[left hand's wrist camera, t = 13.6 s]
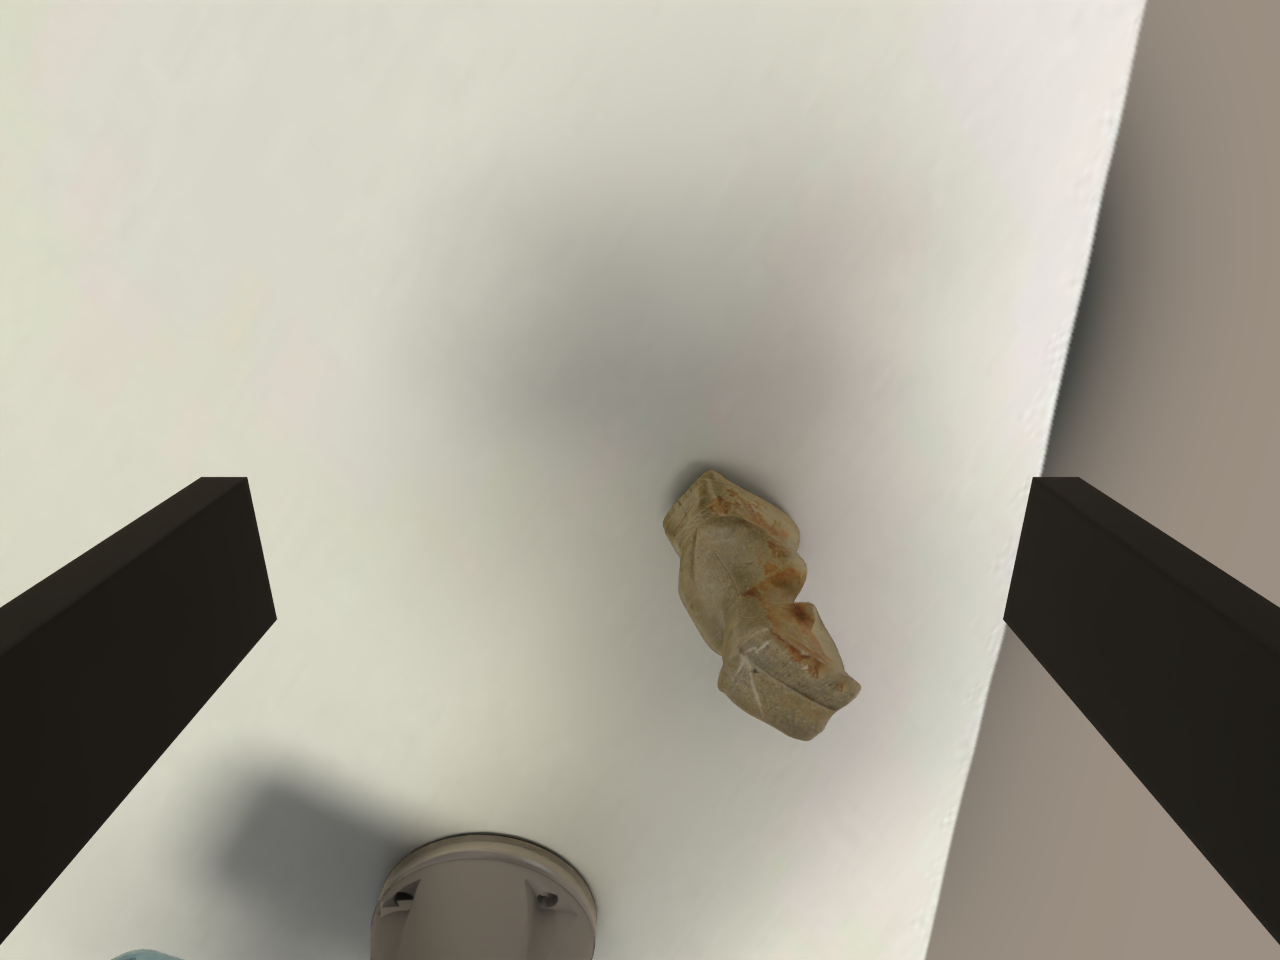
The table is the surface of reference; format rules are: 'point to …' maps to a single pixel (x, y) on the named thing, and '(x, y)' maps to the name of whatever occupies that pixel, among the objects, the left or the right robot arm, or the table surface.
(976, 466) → the table surface
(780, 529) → the sculpture
